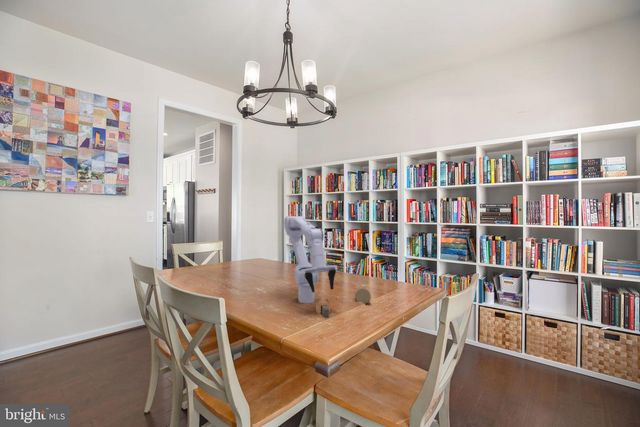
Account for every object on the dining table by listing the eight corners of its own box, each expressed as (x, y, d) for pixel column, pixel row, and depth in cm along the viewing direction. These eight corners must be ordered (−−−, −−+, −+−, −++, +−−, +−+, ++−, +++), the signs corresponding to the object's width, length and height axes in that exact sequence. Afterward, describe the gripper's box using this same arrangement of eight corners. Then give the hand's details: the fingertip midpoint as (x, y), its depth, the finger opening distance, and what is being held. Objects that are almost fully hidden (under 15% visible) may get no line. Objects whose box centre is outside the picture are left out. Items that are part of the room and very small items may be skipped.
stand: (308, 308, 126) (308, 298, 126) (326, 307, 127) (326, 296, 127) (317, 324, 108) (317, 312, 108) (338, 322, 110) (338, 310, 110)
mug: (369, 298, 140) (373, 283, 135) (366, 314, 132) (371, 298, 127) (354, 294, 141) (358, 279, 136) (350, 308, 133) (354, 293, 128)
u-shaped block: (315, 310, 119) (315, 300, 119) (327, 309, 120) (327, 299, 120) (317, 313, 115) (317, 303, 115) (329, 312, 116) (329, 302, 116)
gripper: (301, 256, 114) (306, 292, 110) (336, 252, 118) (342, 286, 113) (299, 260, 121) (303, 294, 116) (332, 256, 124) (338, 289, 120)
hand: (322, 290), depth 115 cm, fingers open, 7 cm apart
